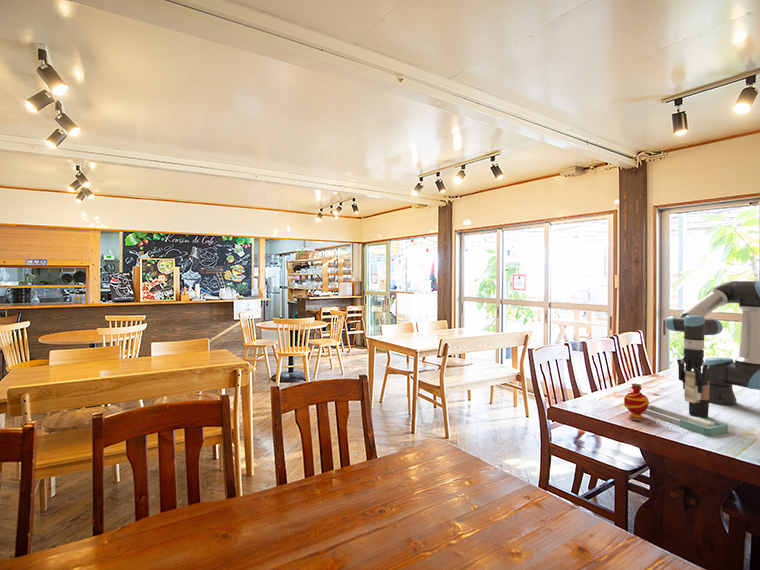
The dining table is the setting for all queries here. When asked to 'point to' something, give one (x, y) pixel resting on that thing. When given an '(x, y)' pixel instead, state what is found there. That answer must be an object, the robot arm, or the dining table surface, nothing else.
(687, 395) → the light wood tall block
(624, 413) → the dining table surface
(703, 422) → the cube
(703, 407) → the travel mug
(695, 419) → the cube
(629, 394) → the potion bottle
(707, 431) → the tray
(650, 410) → the slot rail
